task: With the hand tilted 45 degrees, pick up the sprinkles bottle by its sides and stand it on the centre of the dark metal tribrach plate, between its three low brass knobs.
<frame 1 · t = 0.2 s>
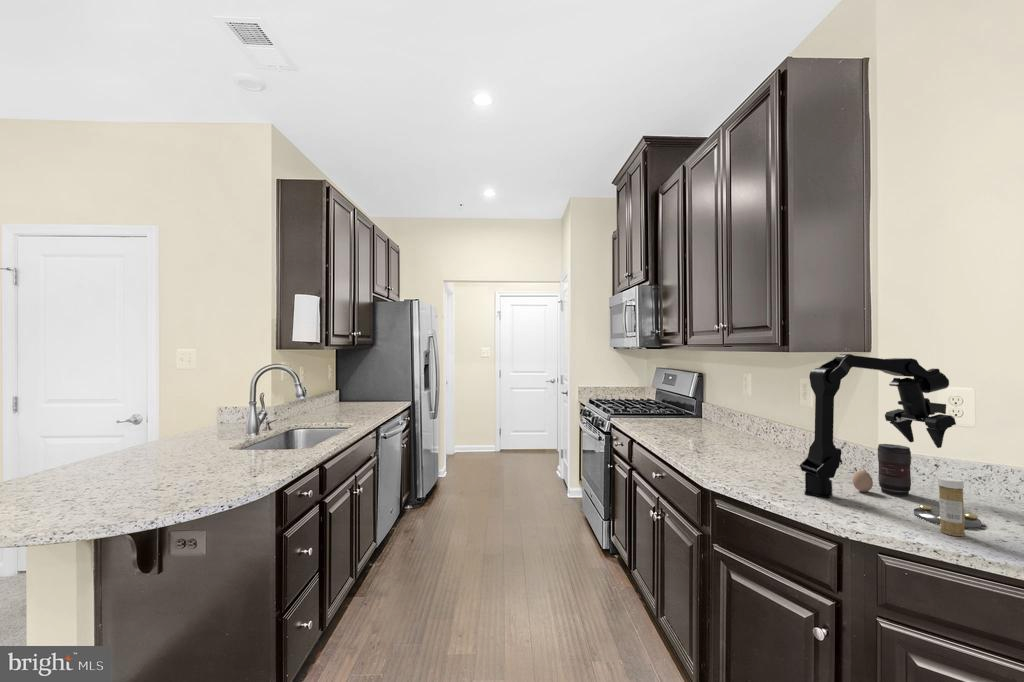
hand: (925, 444, 143), 15 cm above the counter, tool pointing down, fingers open, 9 cm apart
sprinkles bottle: (952, 534, 111), on the counter
egg: (862, 492, 145), on the counter
tribrach plate: (946, 519, 121), on the counter
camera lens: (895, 494, 143), on the counter
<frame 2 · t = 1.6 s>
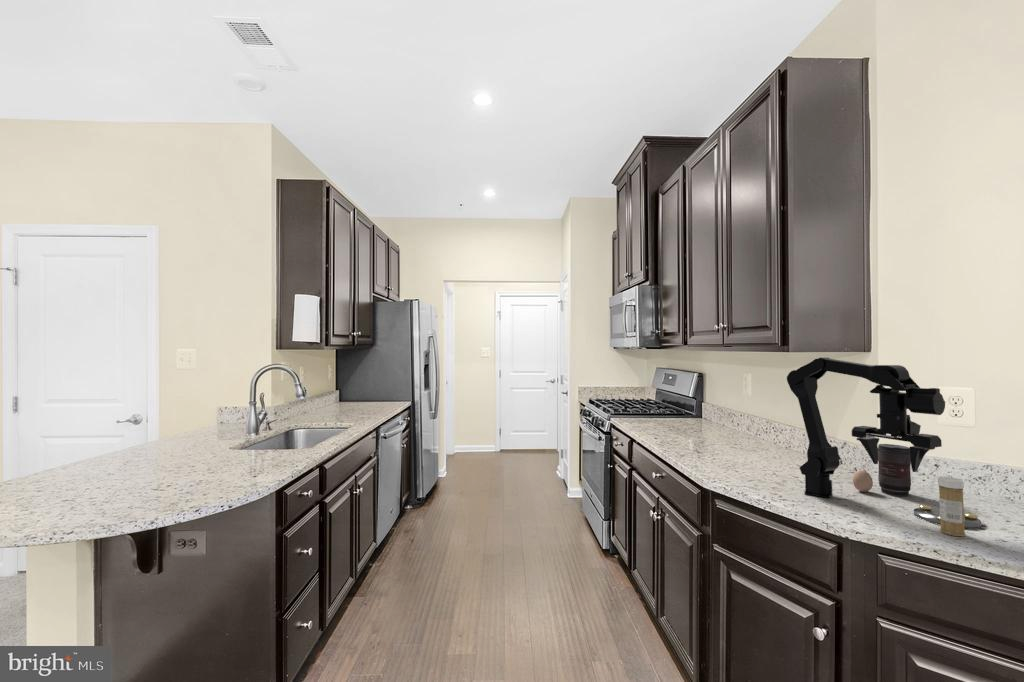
hand: (894, 467, 124), 13 cm above the counter, tool pointing down, fingers open, 9 cm apart
nothing on the counter moved.
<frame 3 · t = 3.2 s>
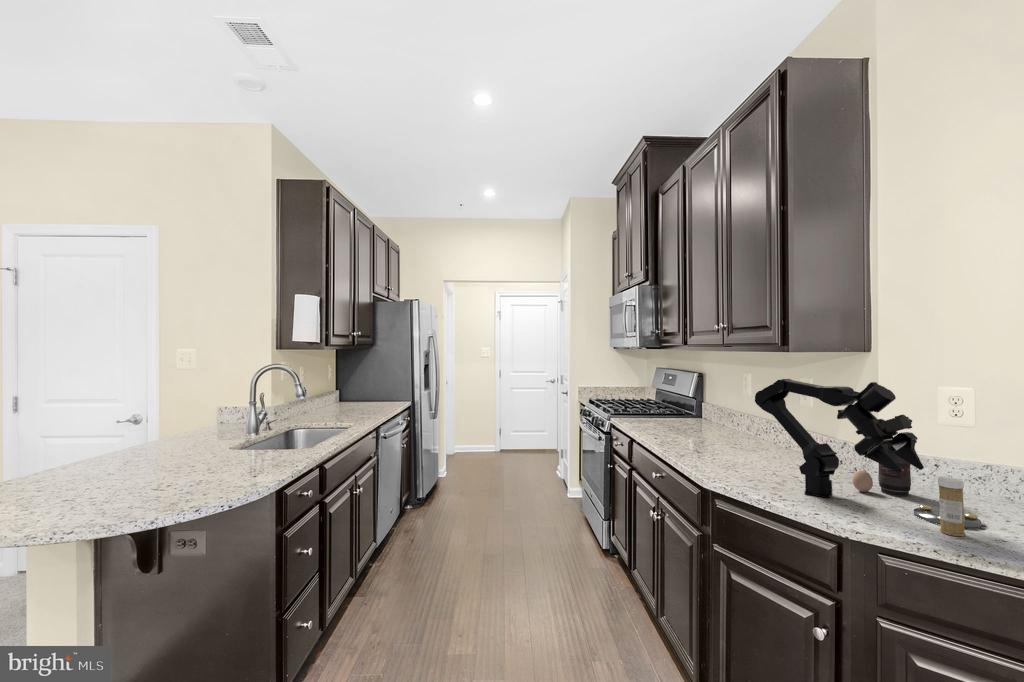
hand: (911, 470, 119), 13 cm above the counter, tool tilted 45°, fingers open, 9 cm apart
nothing on the counter moved.
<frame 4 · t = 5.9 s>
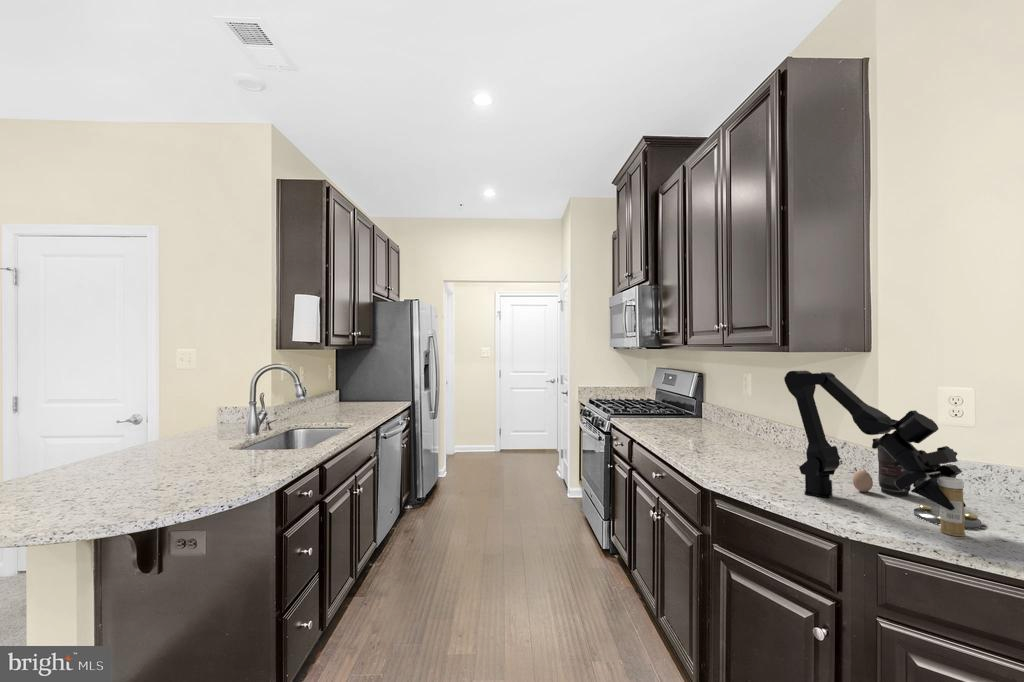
hand: (958, 508, 110), 7 cm above the counter, tool tilted 45°, fingers closed on sprinkles bottle, 4 cm apart
sprinkles bottle: (952, 534, 111), on the counter, touching gripper
everything else where it was.
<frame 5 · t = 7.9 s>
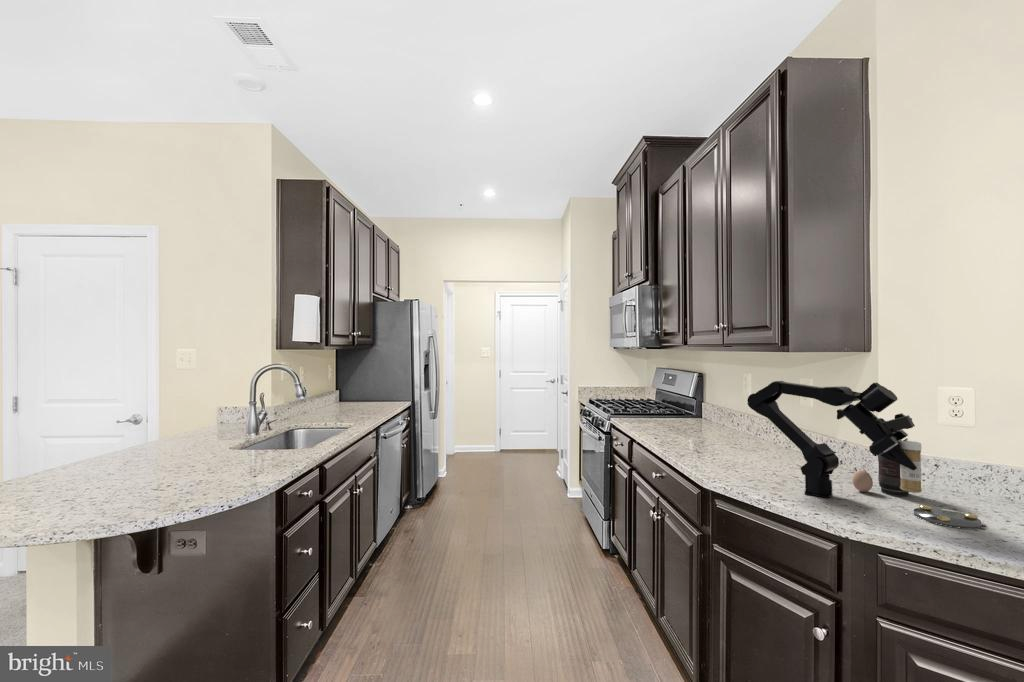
hand: (917, 467, 124), 13 cm above the counter, tool tilted 45°, fingers closed on sprinkles bottle, 4 cm apart
sprinkles bottle: (910, 491, 125), point 6 cm above the counter, touching gripper
everything else where it was.
when the fingers open (8 cm above the counter, at t = 10.3 s): sprinkles bottle stays where it is, resting on tribrach plate.
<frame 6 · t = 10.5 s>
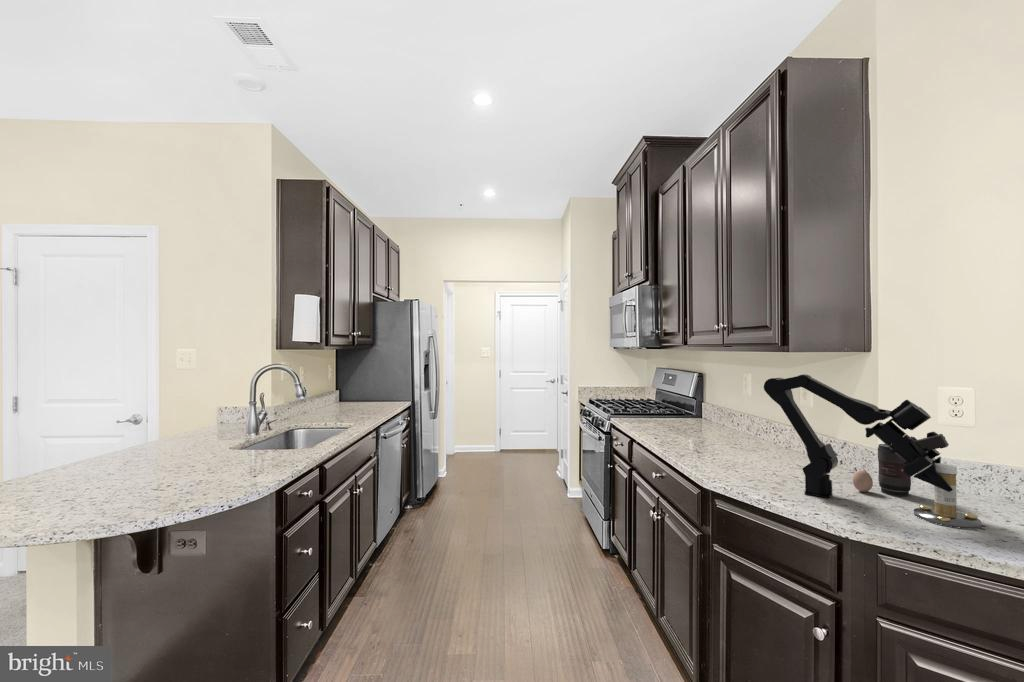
hand: (952, 488, 120), 9 cm above the counter, tool tilted 45°, fingers open, 6 cm apart
sprinkles bottle: (945, 516, 121), point 1 cm above the counter, touching tribrach plate
everything else where it was.
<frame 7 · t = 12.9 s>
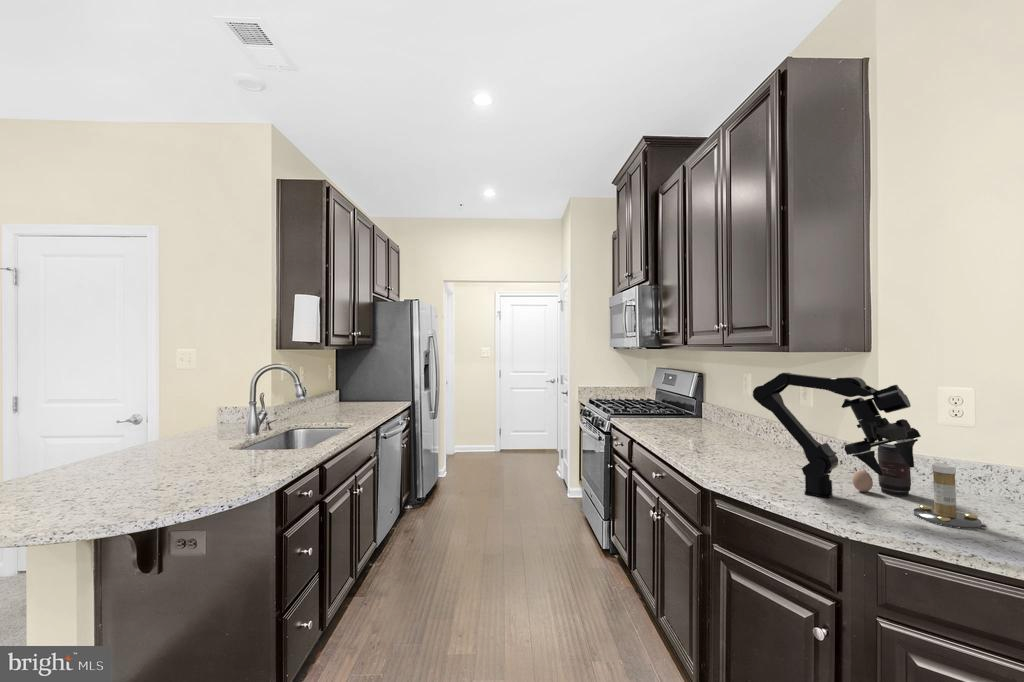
hand: (897, 471, 128), 11 cm above the counter, tool tilted 25°, fingers open, 9 cm apart
nothing on the counter moved.
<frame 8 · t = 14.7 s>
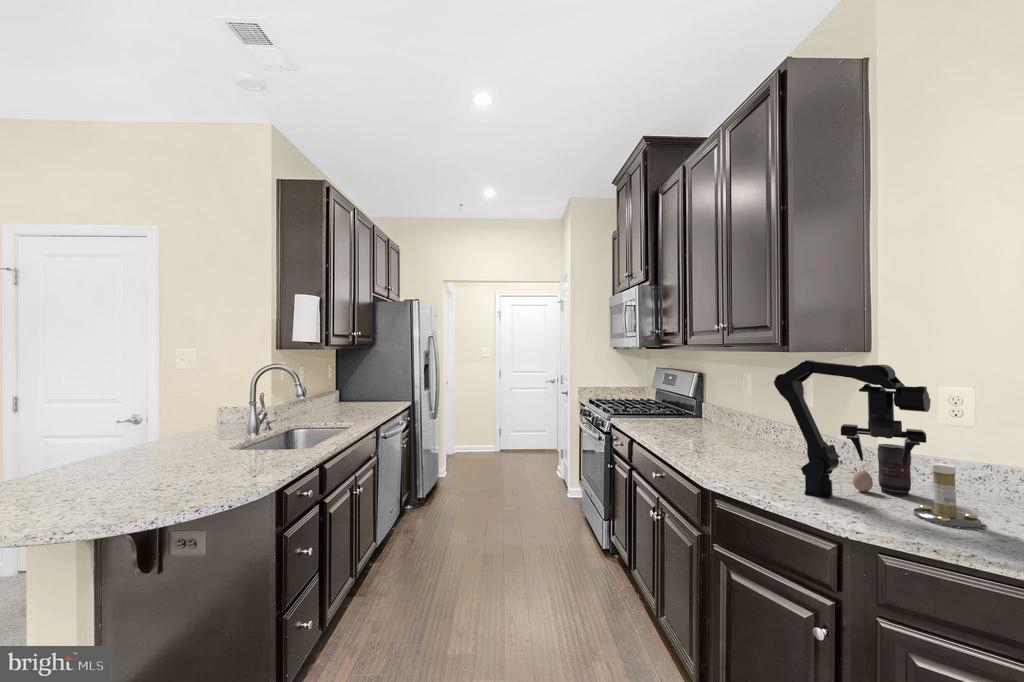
hand: (882, 463, 129), 13 cm above the counter, tool pointing down, fingers open, 9 cm apart
nothing on the counter moved.
at the end: sprinkles bottle 0.2 cm from the tribrach plate (horizontally); sprinkles bottle tilted 1°; the gripper is holding nothing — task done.
